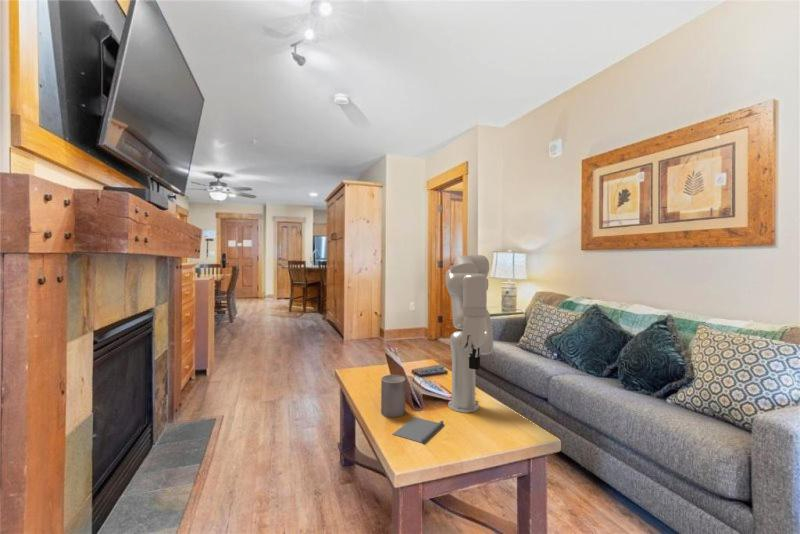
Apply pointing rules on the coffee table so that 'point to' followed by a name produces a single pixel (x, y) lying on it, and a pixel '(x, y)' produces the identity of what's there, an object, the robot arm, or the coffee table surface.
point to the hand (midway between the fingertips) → (474, 368)
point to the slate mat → (419, 430)
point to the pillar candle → (393, 395)
